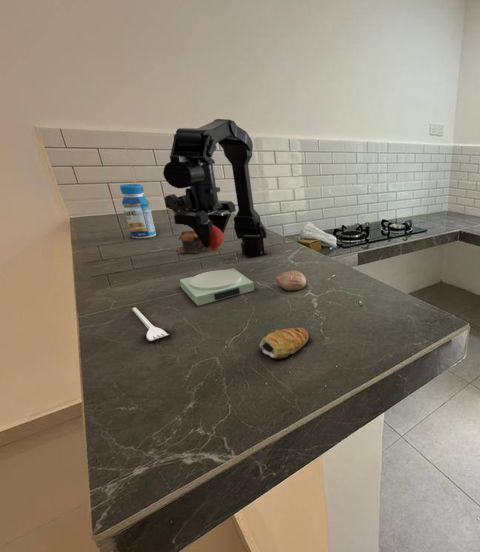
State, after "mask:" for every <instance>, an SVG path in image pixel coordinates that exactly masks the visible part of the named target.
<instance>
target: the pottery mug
mask: <svg viewBox="0 0 480 552" xmlns="http://www.w3.org/2000/svg"><path fill="white" fill-rule="evenodd" d="M178 241H181V244H182V246H180V247H179V251H180V254H198V250H200V251H204V250H205V249H206V248H205V247H204V246H203V245H202V244H201V243H200V240H199V238H198V236H197V234H196V233H195V231H194V230H183V231H182V232H181V235H180V236H179V238H178Z"/></svg>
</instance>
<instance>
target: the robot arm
mask: <svg viewBox="0 0 480 552" xmlns="http://www.w3.org/2000/svg"><path fill="white" fill-rule="evenodd" d="M217 144H218V145H219V146H220V147H221V148H222V150H223V154H224V157H225V158H226V160H228V162H229V163H230V164H231V168H232V169H231V170H232V175H233V176H232V177H233V182H234V189H235V195H236V196H235V197H236V202H237V212H236V204H235V203H234V202H233V201H232V200H219V196H218V193H219V192H221V187H220V186H217V183H216V177H215V171H214V165H215V164H216V161H215V160H214V159H213V158H212V157H213V155H214V153H215V152H216V150H218V149H217ZM253 150H254V144H253V140H252V138H251V136H250V135H249V133H248V132H247V131H246V130H245V129H243V128H242V127H240V126H239V125H237V124H236V122H235V121H234V120H232V119H225V118H223V119H222V118H216V119H214V120H213V121H211V122H209V123H207V124H204V125H202V126H200V127H178V128H177V129H176V131H175V134H174V136H173V141H172V146H171V150H170V155H169V162H167V163H166V164H165V165H164V168H163V171H162V174H163V178H164V180H165V181H166V182H167V183H168V185H170V186H171V187H173V188H176V189H185V190H184V191H185V194H184V195H180V196H177V195H176V194H174V193H172V194H169V195H166V196H164V204H165V208H166V209H168V210H171V211H172V212H173V215H172V218H173V222H174V225H183V226H188V227H189V228H191V229H192V231H195V233H196V234H197V236H198V238H199V239H200V241H201V243H202V244H203V246H204V247H206V248H205V249H207V248H208V247H209V245H210V239H211V232H212V225H214V226H216V227H218V228H219V229H220V230H221V231H222V232H223V234H224V233H225V231H226V228H227V226H228V222H229V221H230V218H231V217H232V213H234V212H236V215H235V216H234V217H233V229H234V232H235V235H236V239H237V240H240V239H241V241H240V248H241V254H242V255H244V256H245V257H246V258H254V257H259V256H260V257H261V256H265V255H268V253H267V252H266V251H265V244H264V239H267V234H268V233H267V229H266V227H265V226H264V223H263V222H262V221H261V216H260V214H259V213H258V212H257V211H256V210H255V208H254V200H253V199H254V198H253V192H252V184H251V177H250V176H251V175H250V169H249V163H250V161H251V159H252V157H253ZM227 212H229V213H227Z"/></svg>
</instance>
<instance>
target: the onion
mask: <svg viewBox="0 0 480 552" xmlns="http://www.w3.org/2000/svg"><path fill="white" fill-rule="evenodd" d="M199 240H200V239H199ZM200 243H201V241H200ZM224 243H225V234H224V233H223V232H222V231H221V230H220V229H219V228H218V227H216V226H214V225H212V232H211V239H210V245H209V247H208V248H206V247H205V249H207V250H210V251H212V252H217V251H218V249H219V248H221V246H222V245H224ZM201 244H202V243H201ZM202 245H203V244H202Z"/></svg>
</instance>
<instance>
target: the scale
mask: <svg viewBox="0 0 480 552" xmlns="http://www.w3.org/2000/svg"><path fill="white" fill-rule="evenodd" d="M179 284H180V287H181V288H180V289H182V290H183V292H184V293H186V295H187V296H188V297H189V298H190V299H191V300H192V302H193V303H195V305H196V306H203V305H206V304H210V303H213V302H217V301H222V300H225V299H228V298H231V297H236V296H239V295H243V294H247V293H250V292H255V285H254V281H252V280H251V279H249V278H248V277H246V276H245V275H243V274H242V273H241V272H239V271H238V270H237V269H235V268H234V267H231V268H227V269H217V270H210V271H205V272H201V273H199V274H196V275H195V276H189V277H185V278H181V279H179Z"/></svg>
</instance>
